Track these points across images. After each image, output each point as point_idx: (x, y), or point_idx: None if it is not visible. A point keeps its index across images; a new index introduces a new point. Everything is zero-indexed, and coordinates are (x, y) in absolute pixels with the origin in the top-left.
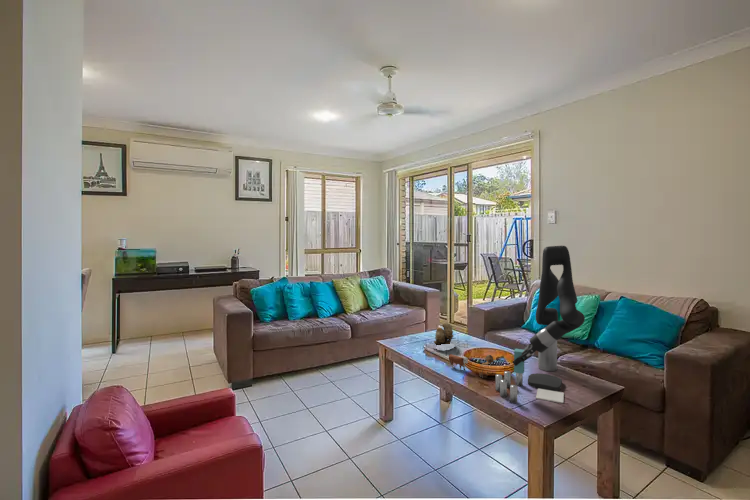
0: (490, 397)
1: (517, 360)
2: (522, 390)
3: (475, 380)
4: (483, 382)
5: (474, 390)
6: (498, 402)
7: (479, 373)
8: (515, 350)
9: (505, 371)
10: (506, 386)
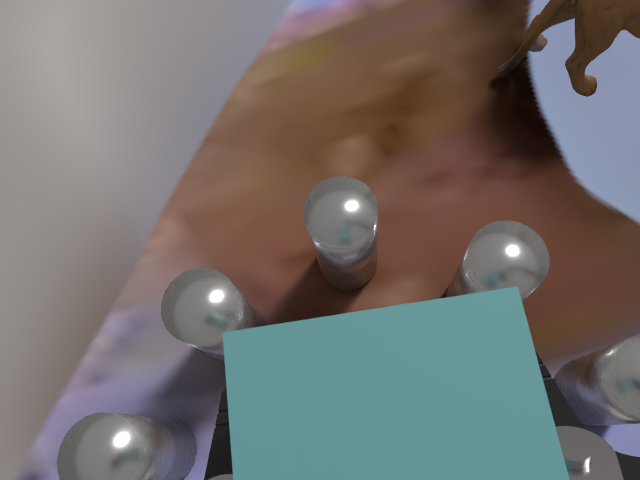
0: (157, 256)
1: (211, 461)
2: None
3: (424, 47)
4: (424, 109)
5: (226, 114)
6: (93, 341)
7: (533, 20)
8: (314, 350)
9: (514, 232)
10: (205, 351)
